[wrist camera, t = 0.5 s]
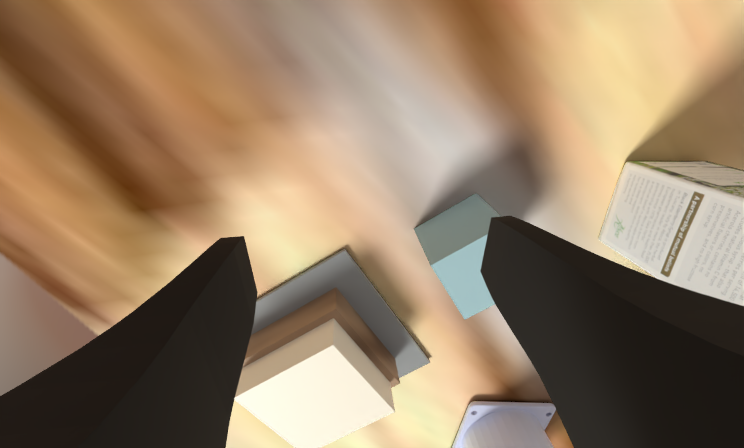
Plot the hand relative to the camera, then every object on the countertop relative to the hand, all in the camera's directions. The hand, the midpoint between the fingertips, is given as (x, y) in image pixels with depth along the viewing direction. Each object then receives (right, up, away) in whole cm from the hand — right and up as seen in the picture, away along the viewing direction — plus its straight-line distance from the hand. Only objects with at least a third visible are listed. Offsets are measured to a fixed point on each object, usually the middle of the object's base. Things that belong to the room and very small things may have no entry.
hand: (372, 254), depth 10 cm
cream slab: (-4, -9, +13) cm, 16 cm away
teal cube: (+6, 0, +12) cm, 13 cm away
